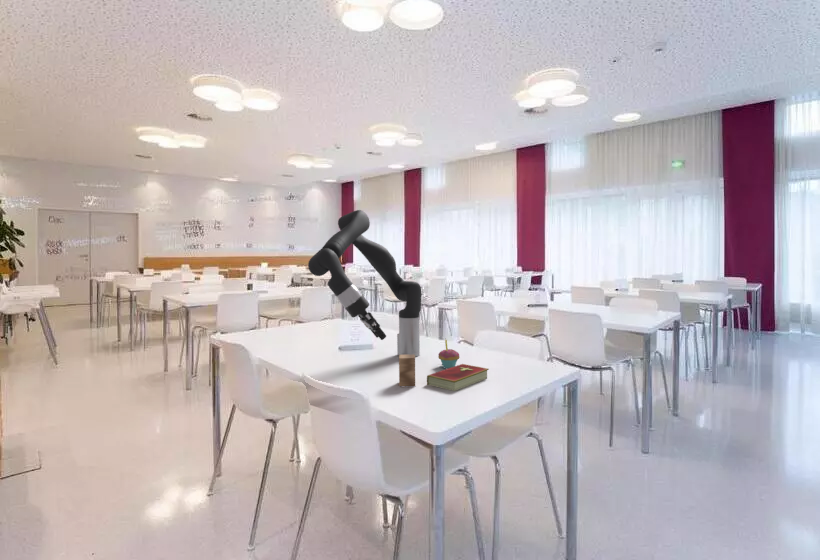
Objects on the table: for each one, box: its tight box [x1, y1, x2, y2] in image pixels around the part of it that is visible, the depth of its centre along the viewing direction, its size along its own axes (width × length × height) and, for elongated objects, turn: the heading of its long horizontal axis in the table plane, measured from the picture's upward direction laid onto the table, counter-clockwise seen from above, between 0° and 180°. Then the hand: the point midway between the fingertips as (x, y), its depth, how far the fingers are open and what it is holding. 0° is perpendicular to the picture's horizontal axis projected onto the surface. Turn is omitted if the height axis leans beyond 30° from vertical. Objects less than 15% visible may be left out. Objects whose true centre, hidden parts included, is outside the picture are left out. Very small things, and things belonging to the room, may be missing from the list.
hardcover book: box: [426, 363, 490, 392], centre depth 162 cm, size 12×21×4 cm, turn 139°
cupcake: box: [438, 338, 460, 369], centre depth 183 cm, size 9×8×12 cm
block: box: [398, 354, 416, 387], centre depth 159 cm, size 6×6×10 cm
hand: (381, 337), depth 157 cm, fingers open, 8 cm apart
